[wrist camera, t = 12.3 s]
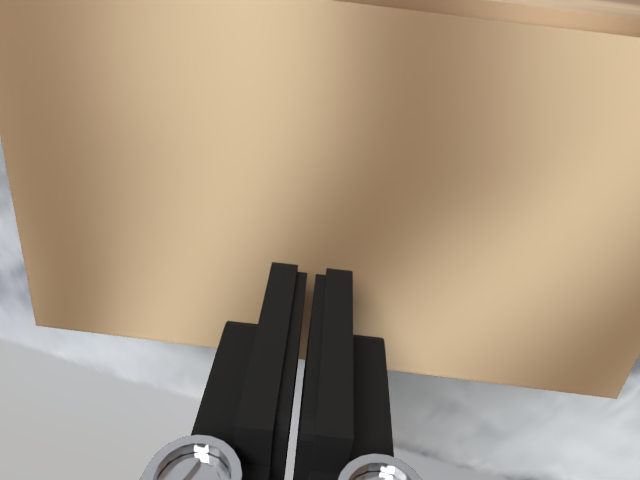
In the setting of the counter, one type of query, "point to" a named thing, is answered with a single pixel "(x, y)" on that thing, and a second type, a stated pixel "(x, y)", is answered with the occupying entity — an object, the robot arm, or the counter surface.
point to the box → (536, 12)
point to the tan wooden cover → (331, 177)
